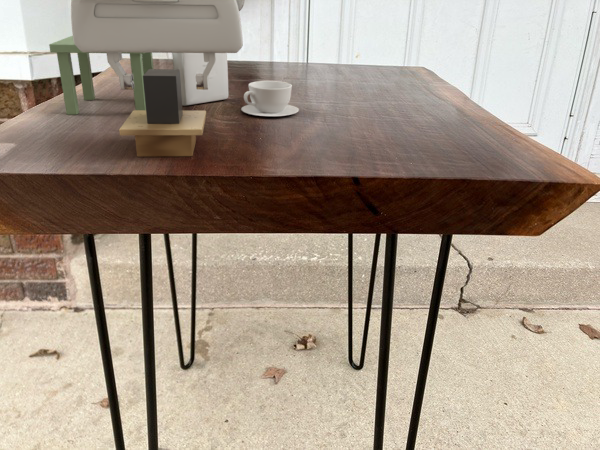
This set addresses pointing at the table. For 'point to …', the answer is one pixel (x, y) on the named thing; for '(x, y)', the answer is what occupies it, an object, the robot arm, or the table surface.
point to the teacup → (269, 99)
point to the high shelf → (67, 76)
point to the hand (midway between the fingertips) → (165, 88)
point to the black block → (163, 96)
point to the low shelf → (164, 134)
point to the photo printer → (196, 65)
